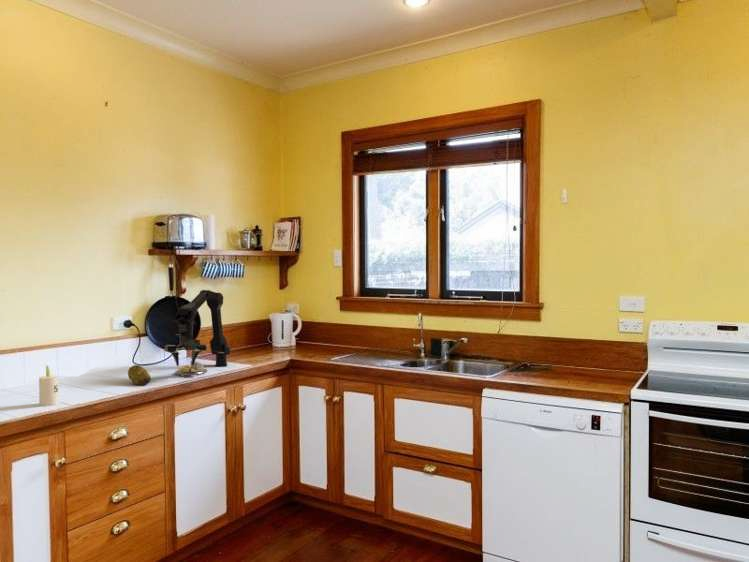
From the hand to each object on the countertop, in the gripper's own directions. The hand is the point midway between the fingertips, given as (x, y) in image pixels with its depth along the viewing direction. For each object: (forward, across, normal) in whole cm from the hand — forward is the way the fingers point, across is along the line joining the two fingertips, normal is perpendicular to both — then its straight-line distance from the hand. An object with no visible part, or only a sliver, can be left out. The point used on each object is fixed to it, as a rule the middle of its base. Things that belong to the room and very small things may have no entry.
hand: (185, 365), depth 273 cm
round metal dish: (+5, +6, +7) cm, 11 cm away
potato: (+6, -22, -4) cm, 23 cm away
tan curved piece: (+3, +6, +4) cm, 8 cm away
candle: (+8, -60, -22) cm, 64 cm away
